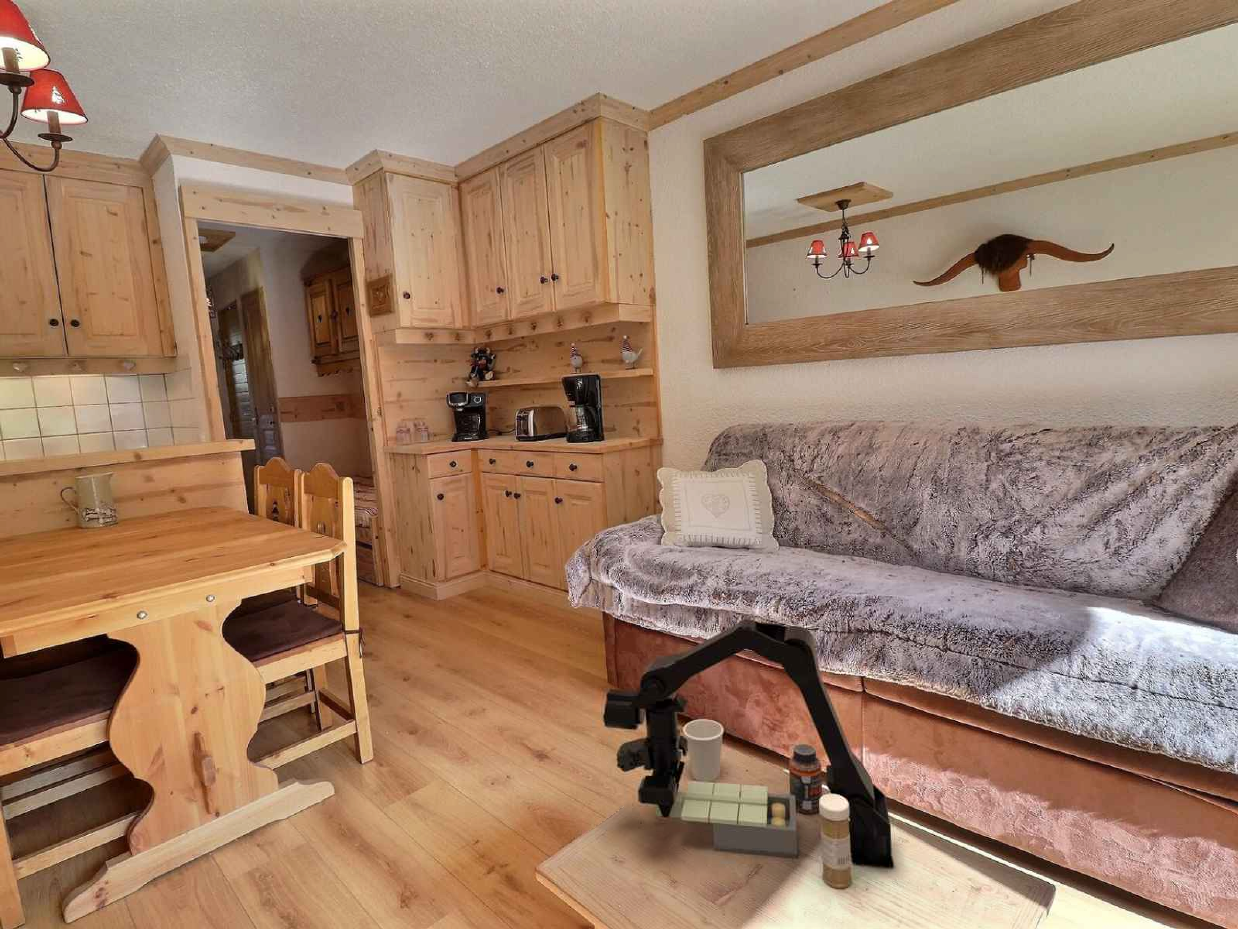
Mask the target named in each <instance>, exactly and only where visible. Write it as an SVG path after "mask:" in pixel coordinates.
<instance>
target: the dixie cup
mask: <svg viewBox="0 0 1238 929" xmlns="http://www.w3.org/2000/svg"><path fill="white" fill-rule="evenodd" d="M682 732H683V734H684V737H685V738H686V739H687V740H688V751H687V754H688V759H689V764H690V769H691V773H692V778H694V779H695V780H696V781H698V782H711V783H712V782H714V781H716V780H717V779H719V777H720V774H721V760H722V759H721V758H722V744H723V734H724V726H722V724H720V723H719V722H718V721H715V720H712V719H707V718H706V719H705V718H701V719H695V720H691V721H689V722H687V723H686V724H685V725H684V727H683V730H682Z"/></svg>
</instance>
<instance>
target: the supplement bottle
mask: <svg viewBox="0 0 1238 929" xmlns="http://www.w3.org/2000/svg"><path fill="white" fill-rule="evenodd" d="M816 753H817V752H816V749H815V747H814V746H813V745H810V744H806V743H800V744H799V743H798V744H796V745H794V747H793V755H792V756H791V757H790V758H789V761H788V769H789V770H788V771H789V772H788V773H789V775H788V776H789V795H795V804H796V812H799V813H803V814H806V815H807V814H810V815H811V814H815V813H818V812H820V811H819V800H820V798H821V797H822V796H823V781H822V780H823V777H822V776H823V775H822V763H821V761H820V759H819V758H818V757H817V754H816Z"/></svg>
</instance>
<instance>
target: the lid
mask: <svg viewBox="0 0 1238 929" xmlns="http://www.w3.org/2000/svg"><path fill="white" fill-rule="evenodd" d="M740 791H741V797H740ZM768 793H769V789H768V786H763V785H762V786H761V785H749V784H748V785H747V784H738V783H737V784H735V783H724V782H722V783H721V782H712V781H711V782H702V781H698V780H696V781H694V780H689V781H688V785H687V788H686V792H685V793H684V791H683V792H682V791H678V792H677V795H676V798H675V802H674V804H673V806H672V809H671V812H670V814H669V817H668V818H679V819H681V821H686V822H687V821H688V822H689V821H690V822H700V823H711V824H713V823H721V824H732V825H737V821H738V823H739V825H743V826H754V827H765V828H767V801H768ZM739 804H740V809H739ZM653 805H654V816H659V817H662V814H661V811H660V809H659V806H658V805H655V804H653ZM738 811H739V819H738Z"/></svg>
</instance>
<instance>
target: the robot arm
mask: <svg viewBox="0 0 1238 929" xmlns="http://www.w3.org/2000/svg"><path fill="white" fill-rule="evenodd" d="M816 648H817V647H816V645H815V639H814V636H813V634H812V632H810V630H808V629H807V628H804V627H802V626H798V625H791V626H786V625H783V624H779V623H773V622H762V621H761V622H760V621H757V620H754V619H749V618H743V619H741V620H739V621H738V622H737V623H736V624H734V625H732V626H731V627H729V628H727V629H725V630H723V631H721V632H720V633H717V634H716V635H714V636H712V637H710V638H708V639H706V640H705V641H703V642H701V643H698V644H697V645H695V646H694V647H692V648H689V649H688V650H685V651H683V652H679V653H673V654H672V653H670V654H668V655H663V656H661V657H658V658H656V659H654V660H652V661H651V662H650V663H649V665H648V666H647V667H646V670H645V671H644V673H643V674H642V676H641V678H640V680H639V681H640V682H639V686H638V688H637V689H636V691H631V690H630V691H628V690H619V689H615V688H610V689H609V690H608V691H607V692H606V700H605V704H604V712H603V715H602V716H603V724H604V727H605V728H610V729H618V730H619V729H620V730H632V731H637V730H638V728H639V725H643V724H644V722H645V727H646V736H645V737H643V738H642V737H640V738H637V739H633V740H630V741H627V742H624V743H622V744H621V745H620V746H619V748H618V751H617V753H616V762H617V764H616V767H617V768H618V769H620V770H621V771H622V772H624V773H627V772H630V771H632V770H635V769H636V768H637V769H638V768H640V767H642V766H643V770H644V771H651V770H652V774H651V775H648V774H647V775H645V776H644V777H643V778H642V779H641V781H640V783H639V786H638V789H637V799H638V802H639V803H640V804H644V805H646V804H647V805H654V804H655V805H658V806H659V809H660V811H661V814H662V816H661V817H663V818H665V819H667V818H670V817H669V814H670V812H671V809H672V806H673V804H674V802H675V798H676V795H677V792H679V788H680V781H681V779H682V774H683V772H684V769H685V761H682V760H681V759H682V756H683V757H687V754H688V740H687V739H686V738H685V736H684V735H681V730H680V729H679V728H678V713H684V712H685V710H686V707H687V705H688V704H689V703H688V700H687V699H685V698H684V697H682V695H681V694H680V693H678V692H677V691H678V690H680V688H681V687H682V686H683V685H684V684H685V683H686V682H687V681H689V680H690V679H691V678H692V677H694V676H697V675H698V674H700V673H702V672H703V671H705V670H708V669H710V668H712V667H713V666H716V665H717V664H719V663H721V662H723V661H725V660H726V659H729V658H731V657H733V656H734V655H736V654H738V653H741V652H742V651H744V650H747V651H750V652H753V653H754V654H757V655H759V656H760V657H761V658H763V659H766V660H767V661H770V662H774V663H776V664H780V665H781V666H782V668H783V669H784V672H785V673H786V675H787V676H788V678H789V679H790V681H792V683H793V684H795V686H796V687H797V688H798V689H799V691H800V693H801V696H802V698H803V700H804V702H805V705H806V707H807V710H808V713H809V714H810V717H811V720H812V722H813V724H814V727H815V729H816V732H817V735H818V737H819V739H820V741H821V744H822V747H823V749H824V752H825V754H826V756H827V758H828V760H829V764H826V765H825V766H826V767H825V768H826V769H825V770H826V774H825V775H826V776H825V777H826V778H825V779H826V786H827V789H828V791H829V792H830V794H837V795H840V796H842V797H844V798H845V799H846V800H847V801H848V803H849V818H848V820H849V833H850V855H851V864H854V865H860V866H868V867H878V868H879V867H880V868H890V869H893V868H894V867H895V864H894V859H893V855H892V854H893V853H892V827H891V821H890V818H889V817H890V816H889V811H888V803H887V798H886V794H884V792H882V790H880V789H879V788H878V787H877V785H875V784H874V783H873V779H872V777H871V775H870V774H869V772H868V770H867V769H866V766H864V764H863V762H862V761H861V760H860V758H858V757H857V755H856V754H855V753H854V752H853V750H852V748H851V747H850V746H851V745H850V743H849V741H848V739H847V736H846V734H845V732H844V730H843V727H842V725H841V723H840V719H839V717H838V715H837V712H836V710H835V707H834V705H833V702H832V700H831V698H830V696H829V693H828V691H827V688H826V685H825V683H824V681H823V678H822V675H821V671H820V665H819V659H818V653H817V649H816ZM676 692H677V693H676ZM674 693H676V694H675V695H673V694H674ZM672 695H673V696H672Z"/></svg>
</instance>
